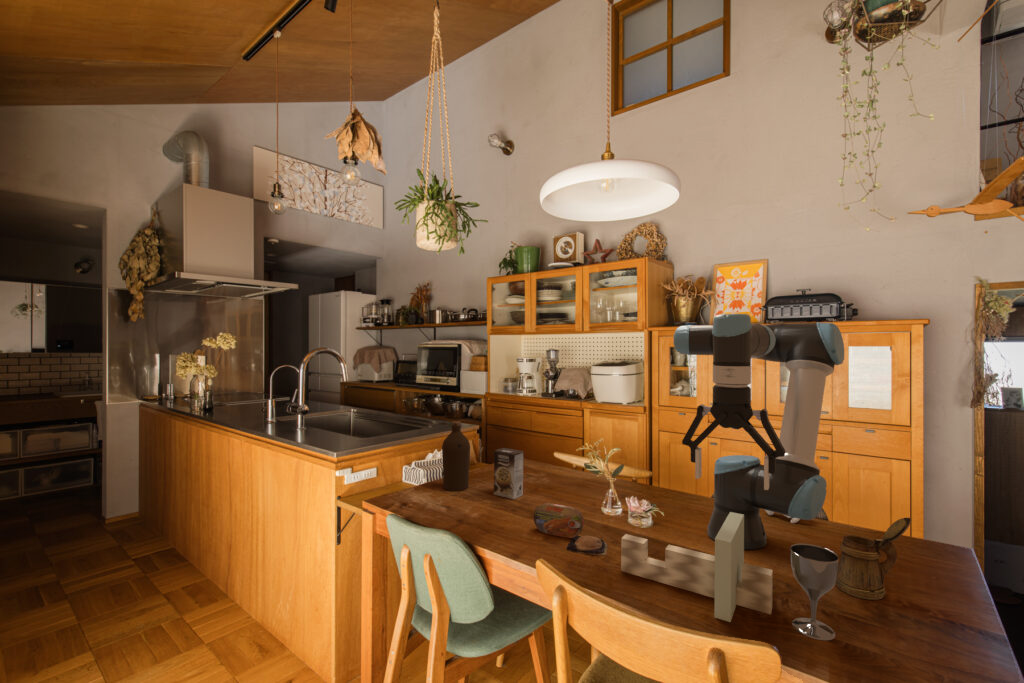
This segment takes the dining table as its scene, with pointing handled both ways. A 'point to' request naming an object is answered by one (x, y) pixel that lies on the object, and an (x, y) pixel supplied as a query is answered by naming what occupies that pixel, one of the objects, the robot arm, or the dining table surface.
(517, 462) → the coffee box
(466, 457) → the olive oil
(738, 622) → the dining table surface
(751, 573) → the notched fence
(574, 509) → the tin
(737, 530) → the sage board
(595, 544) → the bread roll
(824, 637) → the wine glass
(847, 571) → the wooden mug
